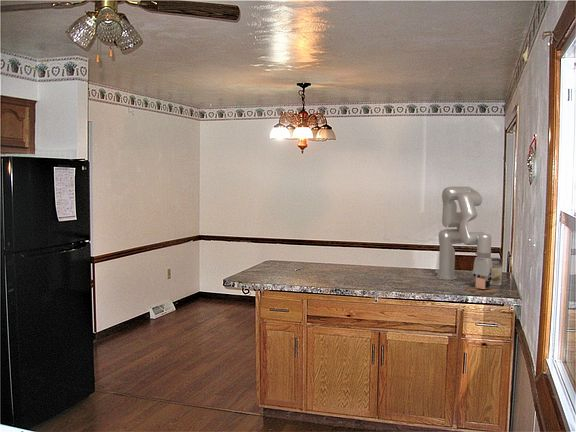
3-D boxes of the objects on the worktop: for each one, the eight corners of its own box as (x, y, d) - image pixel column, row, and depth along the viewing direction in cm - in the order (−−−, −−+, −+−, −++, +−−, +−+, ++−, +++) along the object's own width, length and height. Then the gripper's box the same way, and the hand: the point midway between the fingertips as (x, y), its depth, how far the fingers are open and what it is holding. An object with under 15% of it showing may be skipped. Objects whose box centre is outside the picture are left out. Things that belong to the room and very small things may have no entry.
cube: (475, 287, 319) (475, 277, 319) (481, 286, 322) (481, 276, 322) (483, 289, 315) (484, 279, 314) (489, 287, 318) (490, 278, 317)
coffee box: (486, 285, 335) (487, 259, 334) (482, 283, 342) (483, 257, 340) (501, 285, 336) (502, 259, 334) (497, 283, 342) (498, 257, 341)
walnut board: (464, 290, 321) (464, 288, 320) (479, 287, 329) (479, 285, 328) (485, 295, 309) (485, 293, 309) (500, 292, 317) (500, 290, 317)
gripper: (467, 254, 322) (466, 284, 323) (492, 258, 308) (491, 290, 309) (475, 253, 326) (474, 283, 328) (501, 256, 312) (499, 288, 314)
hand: (482, 286), depth 319 cm, fingers closed on cube, 5 cm apart
